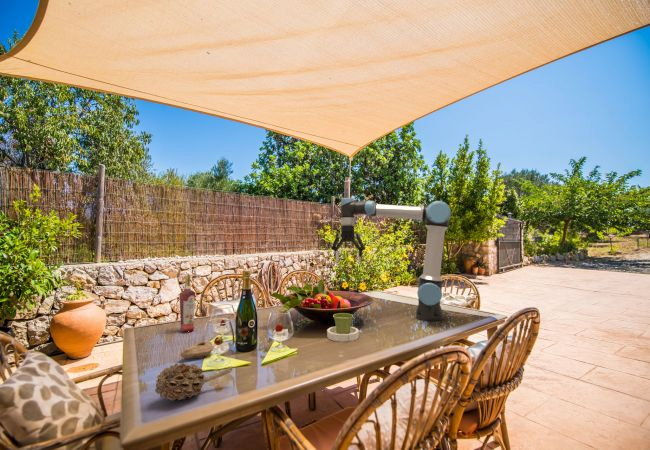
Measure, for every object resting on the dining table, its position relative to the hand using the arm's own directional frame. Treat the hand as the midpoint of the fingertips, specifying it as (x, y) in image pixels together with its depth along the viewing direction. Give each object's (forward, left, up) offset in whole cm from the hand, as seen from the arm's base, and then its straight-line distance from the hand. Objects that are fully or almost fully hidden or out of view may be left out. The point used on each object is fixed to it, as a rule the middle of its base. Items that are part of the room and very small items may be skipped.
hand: (348, 262), depth 180 cm
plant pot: (-11, +31, -31) cm, 45 cm away
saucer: (-11, +31, -32) cm, 46 cm away
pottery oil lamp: (+29, +79, -32) cm, 90 cm away
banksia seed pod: (+4, +100, -32) cm, 105 cm away
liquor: (+62, +58, -32) cm, 91 cm away
